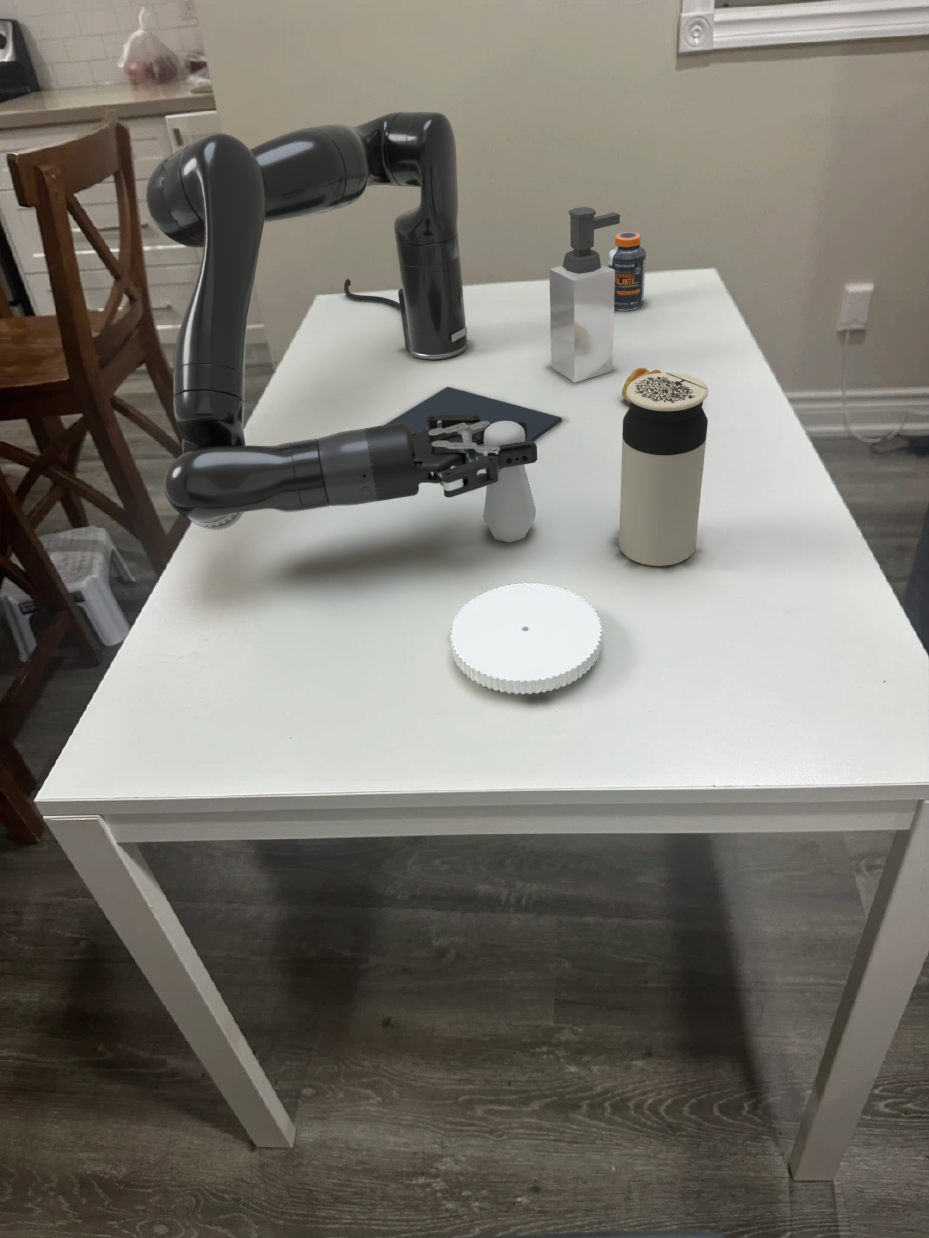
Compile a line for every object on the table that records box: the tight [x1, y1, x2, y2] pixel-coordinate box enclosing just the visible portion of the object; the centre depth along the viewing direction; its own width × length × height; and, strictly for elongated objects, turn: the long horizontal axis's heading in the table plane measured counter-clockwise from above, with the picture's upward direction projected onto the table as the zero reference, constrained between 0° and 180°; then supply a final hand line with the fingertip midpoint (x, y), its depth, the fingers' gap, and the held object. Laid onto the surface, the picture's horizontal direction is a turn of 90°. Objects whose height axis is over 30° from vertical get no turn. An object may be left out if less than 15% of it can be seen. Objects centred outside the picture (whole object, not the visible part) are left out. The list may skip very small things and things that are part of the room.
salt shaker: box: [482, 421, 537, 543], centre depth 93 cm, size 6×6×13 cm
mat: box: [384, 386, 562, 478], centre depth 116 cm, size 20×20×1 cm
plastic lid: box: [449, 582, 603, 695], centre depth 81 cm, size 14×14×2 cm
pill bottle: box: [608, 231, 647, 312], centre depth 142 cm, size 6×6×11 cm
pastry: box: [621, 367, 663, 404], centre depth 116 cm, size 9×7×4 cm
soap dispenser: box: [548, 206, 621, 384], centre depth 121 cm, size 6×9×22 cm
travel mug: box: [618, 371, 709, 567], centre depth 86 cm, size 8×8×18 cm
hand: (530, 440), depth 90 cm, fingers closed on salt shaker, 4 cm apart
